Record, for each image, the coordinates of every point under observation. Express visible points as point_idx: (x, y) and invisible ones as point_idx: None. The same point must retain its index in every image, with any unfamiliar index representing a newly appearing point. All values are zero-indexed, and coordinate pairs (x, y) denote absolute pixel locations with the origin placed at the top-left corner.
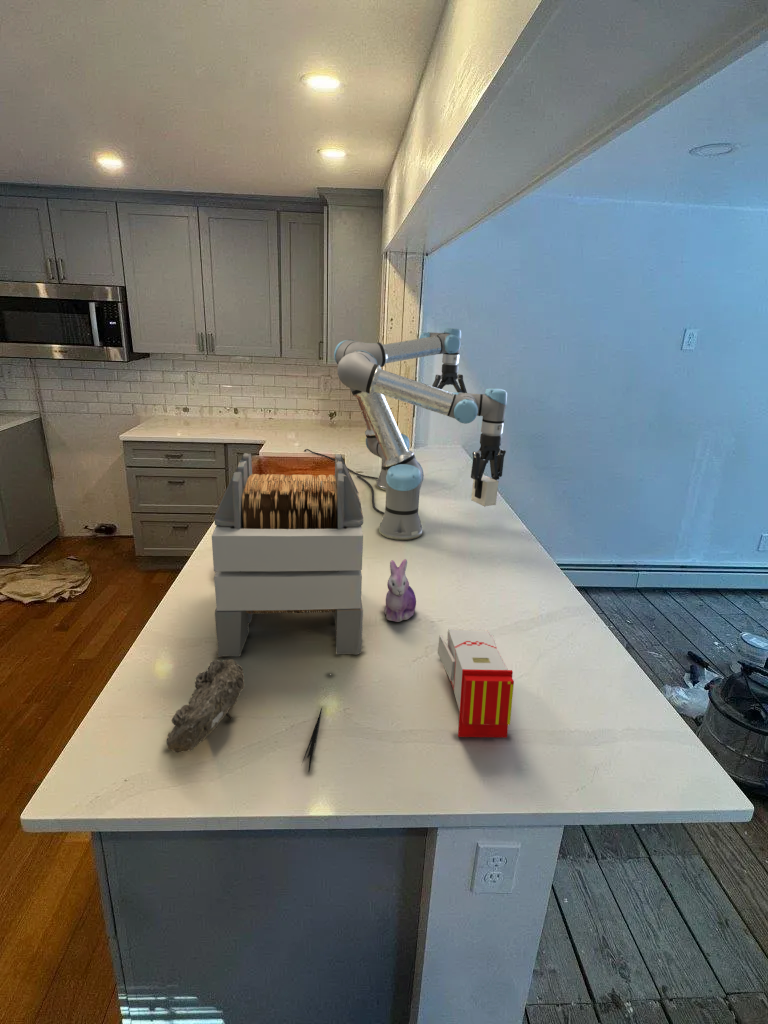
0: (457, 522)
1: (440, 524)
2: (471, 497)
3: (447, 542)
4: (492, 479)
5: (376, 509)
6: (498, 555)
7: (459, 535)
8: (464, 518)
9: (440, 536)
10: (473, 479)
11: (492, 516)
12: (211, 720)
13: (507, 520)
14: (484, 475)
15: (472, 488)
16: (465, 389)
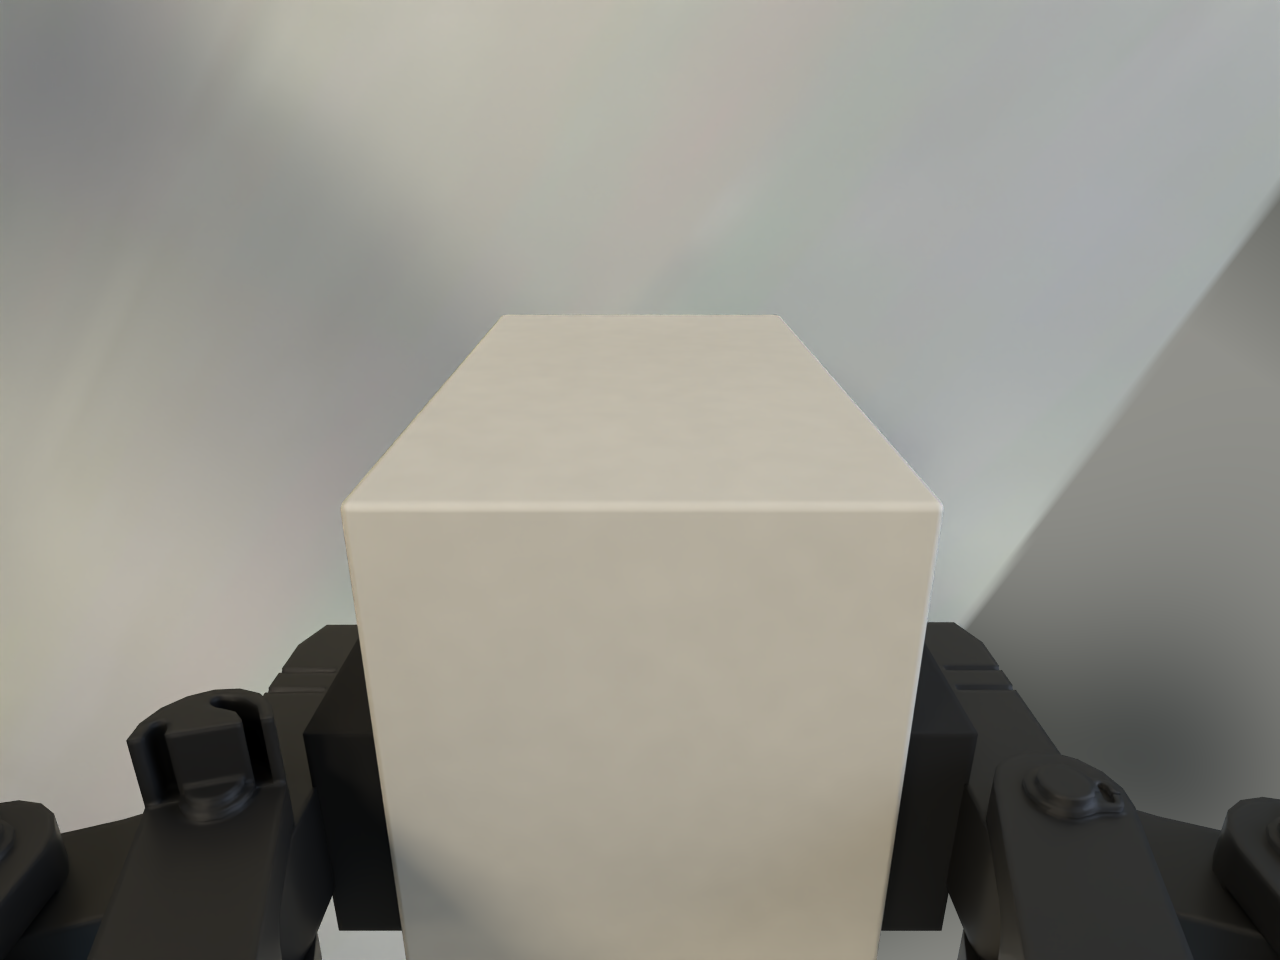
0: (439, 155)
1: (178, 120)
2: (490, 330)
3: (41, 597)
4: (798, 953)
5: None
6: (357, 937)
7: (247, 507)
8: (622, 60)
9: (26, 448)
10: (374, 467)
11: (1037, 166)
12: None
13: (1084, 371)
14: (912, 518)
15: (451, 376)
16: None
